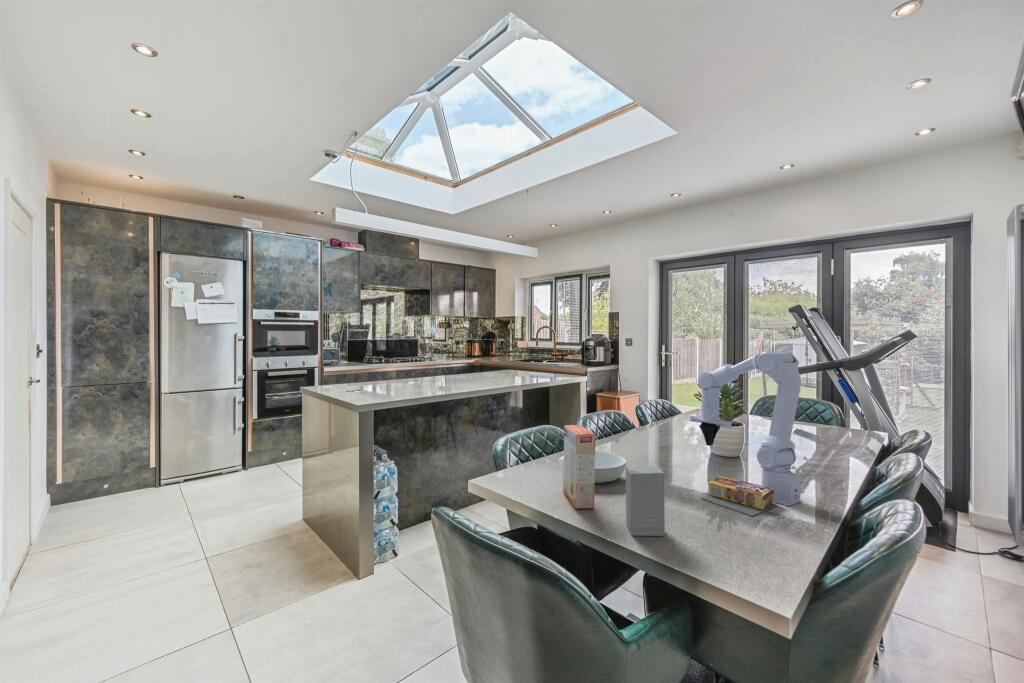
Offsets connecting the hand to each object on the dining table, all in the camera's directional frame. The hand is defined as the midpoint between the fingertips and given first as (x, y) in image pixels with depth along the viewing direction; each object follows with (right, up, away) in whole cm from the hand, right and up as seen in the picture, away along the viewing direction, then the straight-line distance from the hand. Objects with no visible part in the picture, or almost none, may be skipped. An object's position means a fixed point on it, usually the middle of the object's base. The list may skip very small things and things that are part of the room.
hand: (709, 444), depth 152 cm
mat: (-3, -11, -26) cm, 28 cm away
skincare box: (-37, -11, -46) cm, 60 cm away
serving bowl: (-42, -10, -6) cm, 43 cm away
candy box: (-7, -8, -18) cm, 21 cm away
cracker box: (-50, -10, -26) cm, 57 cm away
